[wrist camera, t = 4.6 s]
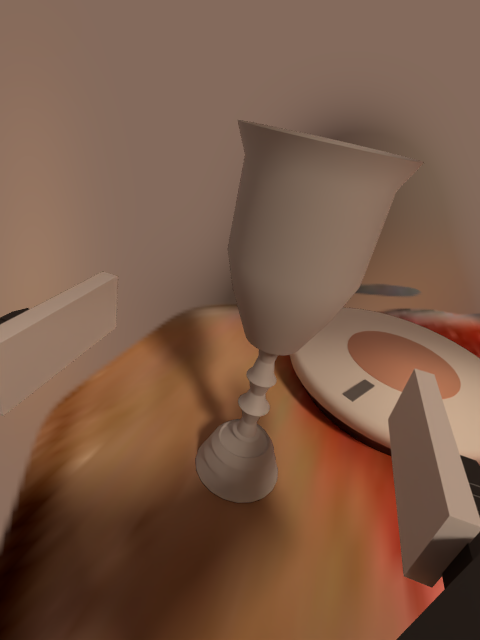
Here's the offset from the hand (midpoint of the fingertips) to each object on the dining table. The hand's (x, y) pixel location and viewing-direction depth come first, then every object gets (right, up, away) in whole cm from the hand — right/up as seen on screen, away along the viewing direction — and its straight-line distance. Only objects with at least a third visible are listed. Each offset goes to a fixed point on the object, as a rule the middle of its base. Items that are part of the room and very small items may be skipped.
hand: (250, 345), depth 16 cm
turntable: (+13, -4, +15) cm, 20 cm away
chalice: (-1, -8, +7) cm, 10 cm away
